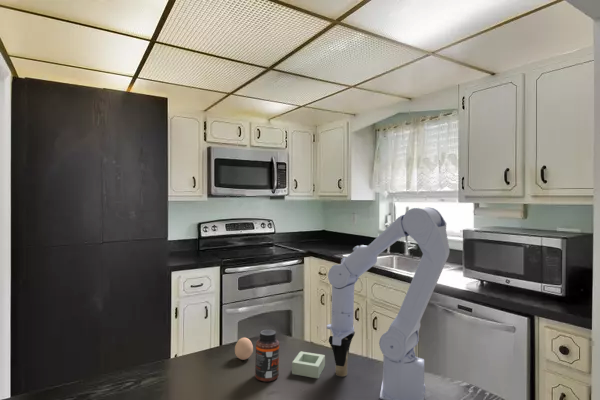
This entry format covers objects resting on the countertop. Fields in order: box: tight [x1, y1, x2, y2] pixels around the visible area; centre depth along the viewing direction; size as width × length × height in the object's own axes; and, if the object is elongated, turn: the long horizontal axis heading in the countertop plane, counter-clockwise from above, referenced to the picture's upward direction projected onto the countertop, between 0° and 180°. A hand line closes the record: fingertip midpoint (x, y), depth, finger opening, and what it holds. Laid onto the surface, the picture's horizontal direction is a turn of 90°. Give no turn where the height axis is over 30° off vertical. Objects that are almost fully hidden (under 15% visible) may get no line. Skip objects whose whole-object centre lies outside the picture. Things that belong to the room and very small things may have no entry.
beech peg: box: [335, 337, 349, 377], centre depth 92 cm, size 3×3×9 cm
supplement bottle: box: [254, 329, 280, 382], centre depth 90 cm, size 6×6×11 cm
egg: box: [234, 337, 254, 361], centre depth 99 cm, size 5×5×6 cm
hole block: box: [291, 350, 326, 379], centre depth 94 cm, size 7×7×3 cm
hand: (341, 362), depth 92 cm, fingers closed on beech peg, 3 cm apart
